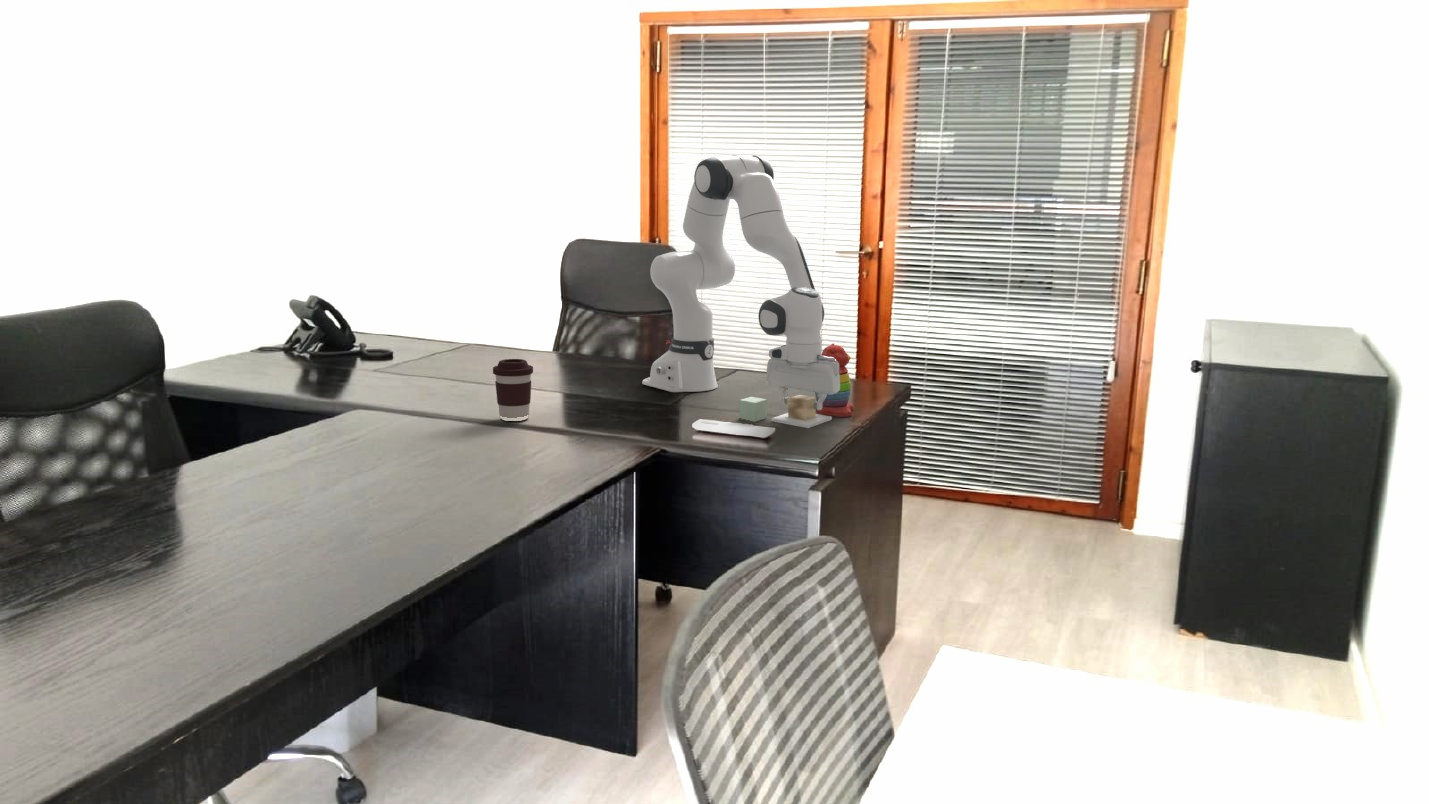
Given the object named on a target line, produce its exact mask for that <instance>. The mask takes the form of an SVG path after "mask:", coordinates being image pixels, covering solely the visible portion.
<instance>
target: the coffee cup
mask: <svg viewBox="0 0 1429 804" xmlns="http://www.w3.org/2000/svg"><path fill="white" fill-rule="evenodd" d="M533 373H534V366H533V365H530V364H529V363H528V361H527V360H525V359H521V358H506V359H500V360H499V361H498V363H497V365H495V366H493V367H492V374H493V375H495V392H496V393H495V394H496V402H497V405H498V412H499V413H498V414H499V417H500V416H502V417H507V418H517V417H524V416H527V415H529V416H530V403H531V396H532V395H531V394H532V380H531V379H532V378H531V375H533Z"/></svg>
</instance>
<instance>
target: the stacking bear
mask: <svg viewBox="0 0 1429 804" xmlns="http://www.w3.org/2000/svg"><path fill="white" fill-rule="evenodd" d="M821 356H826V357H833V358H835V360H837V361H838V363H839V377H840V390H839V391H838V392H837V393H836V394H833V395H828V394H827V397H826V398H825V400H824V402H823V403H822V409H821V410H816V414H820V415H826V416H831V417H835V418H836V417H837V418H838V417H840V418H848V417H849V418H850V417H851V416H852V414H853V413H852V412H853V411H854V409H855V408H854V404H852V403H851V402H849V399H850V395H851V390H852V385H851V384H852V383H851V380H850V374H849V370H848V368H847V367H846V366H847V365H848V364H849V362H850V360H851V356H850V354H848V353H847V352H846V351H845V348H844V347H843V346H841V345H838V344H835V343H831V344H830V345H828V346H827V345H826V347H825V348H823V350H821ZM833 362H835V361H833ZM814 396H815V397H816V402H817V401H818V399H819V398H820V397H818V393H816V392H814Z"/></svg>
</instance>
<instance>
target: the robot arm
mask: <svg viewBox="0 0 1429 804" xmlns="http://www.w3.org/2000/svg"><path fill="white" fill-rule="evenodd" d="M693 176H694V177H693V178H694V179H693V180H694V181H693V184H692V186H691V188H690V192H689V196H688V200H687V205H686V209H685V214H684V219H683V222H682V223H683V224H682V230H683V232H684V234H685V236H686V237H687V239H689V240H690V241H692V242H693V243H694V247H693V249H692V250H681V251H669V252H667V253H663V254H661V255H660V254H659V255H657V256H656V257H654V259H653V260H652V262H651V266H650V271H649V272H650V273H649V275H650V278H651V281H652V283H653V285H654V286H655V287H656V289H658V290H659V291H661V292H662V294H664V296H665V297H666V300H668V303H669V305H670V307H671V311H672V323H673V324H672V325H673V337H672V338H671V339H668V340H666V343H665V344H666V345H669V347H668V350H667V351H666V352H664V353H663V354H662V355H661V356H660V357H658V358H657V359H655V361H653V363H652V364H651V368H650V374H649V375H650V376H648V377H646V378H644V379H643V380H642V384H641V385H645V386H647V387H653V388H656V389H660V390H664V391H665V392H666V391H667V392H670V393H683V392H689V393H690V392H691V393H692V392H693V393H694V392H705V391H711V390H715V389H717V388H718V387H719V386H718V383H717V378H716V374H715V373H716V372H715V367H714V366H715V365H714V354H715V353H714V351H715V339H714V338H713V313H712V310H711V309H710V307H709V306H707V305H706V304H704V303H703V302H700V301H699V299H698V296H697V295H698V294H697V291H698V290H708V289H717V288H720V287H723V286H726V285H729V284H730V283H731V282H732V280H733V279H734V276H735V273H736V264H735V262H734V259H733V257H732V256H731V255H730V253H729V252H727V250H726V249H725V246H724V243H723V242H724V241H723V237H724V229H725V228H724V227H725V223H726V218H727V214H728V210H729V205H730V201H731V200H734V201H735V202H736V204H737V207H738V213H739V220H740V224H741V230H742V234H743V237H744V239H745V241H746V243H747V244H748V245H749V246H750V247H751V248H752V249H754V250H756V251H758V252H760V253H762V254H765V255H767V256H770V257H773V258H774V259H776V260H777V261H778V262H779V263H781V265H782V266H783V268H784V271H785V273H786V276H787V279H788V283H789V286H790V288H789V289H790V290H789V291H787V292H786V293H785V294H782V295H780V296H777V297H774V298H773V297H772V298H769V299H766V300H764V301H763V303H761V305H760V307H759V310H758V316H757V317H758V323H759V326H760V328H761V330H762V331H763V332H764V334H767V335H769V336H775V337H778V336H779V337H780V336H785V337H786V341H785V344H783V345H780V346H777V347H775V348H771V349H769V351H768V357H769V359H768V361H767V364H766V373H765V374H766V379H765V380H766V382H767V383H768V385H770V386H775V387H776V386H777V387H778V392H779V393H780V396H781V397H782V404H783V405H787V406H788V400H789V398H790V397H791V396H789V394H788V391H787V390H789V389H793V390H799V391H805V392H811V393H815V392H816V393H818V397H820V398H819V399H818V401H816V402H815V403H814V409H815V410H821V409H822V403H823V402H824V400H825V398H826V397H827V394H828V395H833V394H836V393H837V392H838V391H839V390H840V377H839V363H838V361H837V360H835V358H833V357H826V356H821V355H822V336H821V329H822V326H823V322H824V319H825V308H824V305H823V303H822V298H821V295H820V293H819V291H817V290H816V288H815V285H814V282H813V279H812V276H811V273H810V269H809V267H808V264H807V260H806V257H805V254H804V251H803V249H802V246H801V244H800V241H799V239H798V238H797V237H796V236H795V235H793V233H792V232H791V230H790V228H789V226H788V224H787V221H786V219H785V215H784V210H783V205H782V201H781V198H780V195H779V192H778V189H777V185H776V184H775V181H774V178H775V177H774V176H775V174H774V169H773V166H772V164H771V162H770V161H769V160H768V159H767V158H765V157H762V156H759V155H742V154H741V155H737V154H736V155H734V154H732V155H727V156H720V157H708V158H705V159H703V160H701V161H700V162H699V163H698V164H697V166H696V167H695V172H694V175H693ZM833 361H835V362H833Z"/></svg>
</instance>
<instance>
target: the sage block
mask: <svg viewBox="0 0 1429 804" xmlns="http://www.w3.org/2000/svg"><path fill="white" fill-rule="evenodd" d="M738 403H739V404H738V405H739V406H738V407H739V410H738V411H739V412H738V414H739V415H738V416H739V417H738V418H742V419H741V420H743V419H746V420H745V421H748V420H749V421H748V422H755V423H756V422H759V421H761V420H765V419H767V414H768V412H767V411H768V410H767V409H768V399H767V398H761V397H754V396H749V397H745V398H741V399H739V402H738Z"/></svg>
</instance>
